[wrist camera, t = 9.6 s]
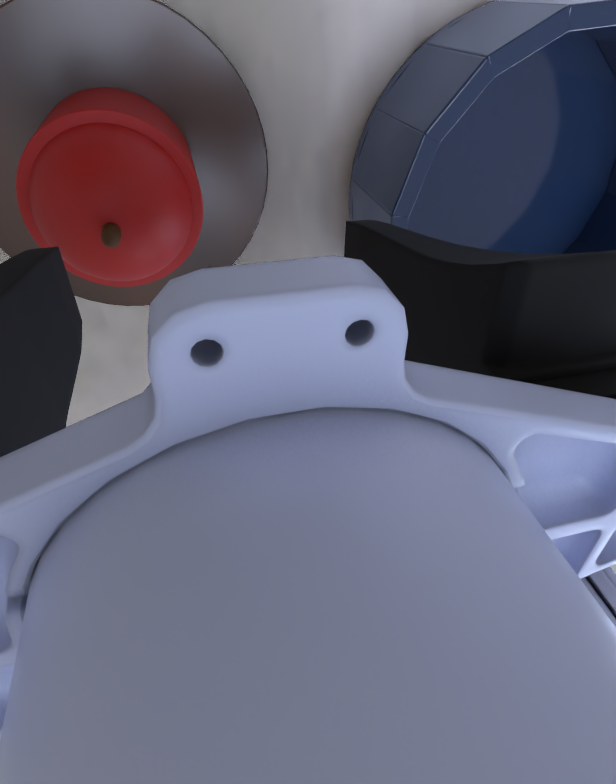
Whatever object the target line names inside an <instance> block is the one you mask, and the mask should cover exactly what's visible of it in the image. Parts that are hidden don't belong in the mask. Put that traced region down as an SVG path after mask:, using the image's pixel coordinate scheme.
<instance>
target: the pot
mask: <svg viewBox="0 0 616 784" xmlns="http://www.w3.org/2000/svg"><path fill="white" fill-rule="evenodd" d="M349 213H350V221H357V220H377V221H381V222H385V223H388V224H392V225H395V226H398V227H401V228H404V229H407V230H410V231H413V232H416V233H419V234H422V235H426V236H429V237H432V238H436V239H439V240H443V241H447V242H450V243H454V244H459V245H463V246H469V247H474V248H480V249H486V250H493V251H503V252H514V253H530V254H573V253H588V252H601V251H612V250H616V0H495V1H493V2H489V3H487V4H486V5H484V6H481V7H479V8H476V9H473V10H472V11H470V12H468V13H466V14H464V15H462V16H461V17H459V18H457V19H455V20H453V21H452V22H450V23H449V24H448V25H446V26H445V27H443V28H442V29H441V30H439V31H438V32H437V33H435V34H434V35H433V36H431V37H430V38H429V39H428V40H427V41H426V42H425V43H424V44H423V45H422V46H421V47H419V48H418V49H417V50H416V51H415V52H414V53H413V54H412V55H411V56H410V57H409V59H408V60H407V61H406V62H405V63H404V65H403V66H402V67H401V68H400V69H399V70H398V72H397V73H396V74H395V75H394V77H393V78H392V80H391V81H390V83H389V84H388V86H387V87H386V89H385V90H384V92H383V93H382V95H381V96H380V98H379V100H378V102H377V104H376V105H375V107H374V109H373V111H372V113H371V115H370V117H369V119H368V121H367V124H366V126H365V129H364V131H363V134H362V136H361V139H360V141H359V145H358V148H357V152H356V156H355V159H354V163H353V168H352V175H351V181H350V192H349Z"/></svg>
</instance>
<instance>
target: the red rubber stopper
mask: <svg viewBox="0 0 616 784" xmlns="http://www.w3.org/2000/svg"><path fill="white" fill-rule="evenodd" d="M16 195H17V201H18V206H19V210H20V213H21V215H22V218H23V221H24V223H25V225H26V227H27V229H28V231H29V233H30V234H31V236H32V237H33V238H34V240H35V241H36V243H37V244H38V245H39V246H40V248H48V247H59V249H60V253H61V256H62V259H63V262H64V265H65V269H66V270H67V271H69V272H71V273H72V274H74V275H76V276H78V277H81V278H83V279H85V280H88V281H91V282H94V283H97V284H102V285H106V286H115V287H132V286H140V285H144V284H148V283H151V282H154V281H157V280H159V279H161V278H163V277H165V276H167V275H169V274H170V273H172V272H173V271H174V270H176V269H177V268H178V267H179V266H180V265H181V264H182V263H183V262H184V261H185V260H186V259H187V258H188V256H189V255H190V254H191V252H192V250H193V249H194V247H195V245H196V243H197V241H198V238H199V236H200V232H201V228H202V223H203V199H202V192H201V189H200V185H199V181H198V178H197V174H196V170H195V167H194V163H193V160H192V156H191V152H190V149H189V147H188V145H187V142H186V140H185V138H184V136H183V135H182V133H181V131H180V130H179V128H178V127H177V126H176V124H175V123H174V122H173V121H172V119H171V118H170V117H169V116H168V115H167V114H166V113H165V112H164V111H162V110H161V109H160V108H159V107H158V106H156V105H155V104H153V103H152V102H151V101H149V100H147V99H145V98H144V97H142V96H140V95H138V94H135V93H132V92H129V91H126V90H122V89H118V88H109V87H99V88H91V89H86V90H82V91H79V92H77V93H74V94H72V95H70V96H69V97H67V98H65V99H64V100H62V101H61V102H60V103H59V104H58V105H56V107H55V108H54V109H53V110H52V111H51V112H50V113H49V115H48V116H47V117H46V119H45V120H44V122H43V123H42V124H41V126H40V127H39V128H38V130H37V131H36V132H35V134H34V135H33V136H32V138H31V139H30V141H29V142H28V144H27V145H26V147H25V149H24V150H23V153H22V155H21V158H20V160H19V164H18V169H17V173H16Z"/></svg>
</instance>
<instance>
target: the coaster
mask: <svg viewBox="0 0 616 784" xmlns="http://www.w3.org/2000/svg"><path fill="white" fill-rule="evenodd" d="M99 87H109V88H118V89H122V90H126V91H129V92H132V93H135V94H138V95H140V96H142V97H144V98H145V99H147V100H149V101H151V102H152V103H153V104H155V105H156V106H158V107H159V108H160V109H161V110H162V111H164V112H165V113H166V114H167V115H168V116H169V117H170V118H171V119H172V121H173V122H174V123H175V124H176V126H177V127H178V128H179V130H180V131H181V133H182V135H183V136H184V138H185V140H186V142H187V145H188V147H189V149H190V152H191V156H192V160H193V163H194V167H195V170H196V174H197V178H198V181H199V185H200V189H201V192H202V199H203V223H202V228H201V232H200V236H199V238H198V241H197V243H196V245H195V247H194V249H193V250H192V252H191V254H190V255H189V256H188V258H187V259H186V260H185V261H184V262H183V263H182V264H181V265H180V266H179V267H178V268H177V269H176V270H174V271H173V272H172V273H170V274H169V275H167V276H165V277H163V278H161V279H159V280H157V281H154V282H151V283H148V284H144V285H140V286H132V287H115V286H106V285H102V284H97V283H94V282H91V281H88V280H85V279H83V278H81V277H78V276H76V275H74V274H72V273H71V272H69V271H67V270H66V272H67V275H68V278H69V281H70V284H71V288H72V291H73V294H74V295H75V296H78V297H81V298H85V299H88V300H91V301H96V302H101V303H106V304H113V305H124V306H144V305H150V303H151V302H152V301H153V300H154V298H155V297H156V296H157V295H158V294H159V292H160V291H161V290H162V289H163V288H164V286H165V285H166V284H167V283H168V282H169V280H171V279H174V278H177V277H179V276H182V275H185V274H188V273H191V272H193V271H196V270H199V269H204V268H214V267H224V266H231V265H232V264H233V263H234V262H235V261H236V260H237V258H238V257H239V256H240V255H241V254H242V252H243V251H244V249H245V248H246V246H247V244H248V243H249V241H250V240H251V238H252V236H253V234H254V231H255V229H256V227H257V225H258V223H259V219H260V216H261V213H262V210H263V207H264V202H265V197H266V191H267V179H268V162H267V149H266V144H265V138H264V133H263V129H262V125H261V122H260V119H259V116H258V112H257V110H256V107H255V105H254V103H253V100H252V98H251V96H250V94H249V91H248V89H247V88H246V86H245V84H244V83H243V81H242V79H241V77H240V76H239V74H238V72H237V71H236V69H235V68H234V67H233V65H232V64H231V63H230V61H229V60H228V59H227V57H226V56H225V55H224V53H223V52H222V51H221V50H220V49H219V48H218V47H217V46H216V45H215V43H214V42H213V41H212V40H211V39H210V38H209V37H208V36H207V35H206V34H205V33H204V32H203V31H201V30H200V29H199V28H198V27H196V26H195V25H194V24H193V23H191V22H190V21H189V20H188V19H186V18H185V17H184V16H182V15H181V14H179V13H178V12H176V11H174V10H173V9H171V8H169V7H168V6H166V5H165V4H163V3H161V2H159V1H157V0H9V1H8V2H6V3H4V4H3V5H1V6H0V247H1V248H2V250H3V251H4V252H6V253H7V254H8V255H9V256H10V257H11V258H12V257H14V256H15V255H17V254H19V253H21V252H23V251H26V250H29V249H37V248H40V246H39V245H38V244H37V243H36V241H35V240H34V238H33V237H32V236H31V234H30V233H29V231H28V229H27V227H26V225H25V223H24V221H23V218H22V215H21V213H20V210H19V206H18V201H17V195H16V173H17V169H18V164H19V160H20V158H21V155H22V153H23V150H24V149H25V147H26V145H27V144H28V142H29V141H30V139H31V138H32V136H33V135H34V134H35V132H36V131H37V130H38V128H39V127H40V126H41V124H42V123H43V122H44V120H45V119H46V117H47V116H48V115H49V113H50V112H51V111H52V110H53V109H54V108H55V107H56V105H58V104H59V103H60V102H61V101H62V100H64V99H65V98H67V97H69V96H70V95H72V94H74V93H77V92H79V91H82V90H86V89H91V88H99Z"/></svg>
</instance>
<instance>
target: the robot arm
mask: <svg viewBox="0 0 616 784" xmlns="http://www.w3.org/2000/svg"><path fill="white" fill-rule="evenodd" d="M81 345H82V319H81V316H80V313H79V310H78V307H77V303H76V300H75V297H74V294H73V291H72V288H71V284H70V281H69V278H68V275H67V272H66V269H65V265H64V262H63V259H62V256H61V253H60V249H59V247H48V248H37V249H29V250H26V251H23V252H21V253H19V254H17V255H15V256H14V257H12V258H10V259H8V260H7V261H5V262H3V263H1V264H0V735H1V738H0V784H616V574H615V573H614V572H613V570H612V569H611V568H610V567H609V566H612V565H614V564H616V250H612V251H601V252H588V253H573V254H530V253H514V252H503V251H493V250H486V249H480V248H474V247H469V246H463V245H459V244H454V243H450V242H447V241H443V240H439V239H436V238H432V237H429V236H426V235H422V234H419V233H416V232H413V231H410V230H407V229H404V228H401V227H398V226H395V225H392V224H388V223H385V222H381V221H377V220H357V221H346V232H345V251H344V257H340V256H324V257H314V258H304V259H294V260H284V261H274V262H264V263H254V264H244V265H234V266H224V267H214V268H204V269H199V270H196V271H193V272H191V273H188V274H185V275H182V276H179V277H177V278H174V279H171V280H169V282H168V283H167V284H166V285H165V286H164V288H163V289H162V290H161V291H160V292H159V294H158V295H157V296H156V297H155V298H154V300H153V301H152V302H151V303H150V312H149V323H148V371H149V375H150V379H151V383H150V384H149V386H148V387H147V388H146V390H145V391H144V392H143V393H141V394H139V395H137V396H135V397H133V398H130V399H128V400H126V401H124V402H121V403H119V404H117V405H115V406H113V407H110V408H108V409H106V410H104V411H102V412H99V413H97V414H95V415H93V416H91V417H88V418H86V419H84V420H82V421H80V422H77V423H75V424H73V425H71V426H68V427H66V421H67V415H68V410H69V406H70V401H71V397H72V392H73V388H74V383H75V379H76V374H77V370H78V365H79V360H80V355H81ZM65 427H66V428H65Z"/></svg>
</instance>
